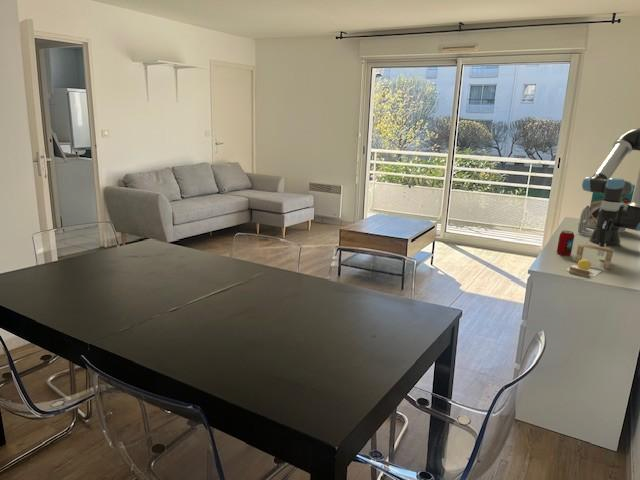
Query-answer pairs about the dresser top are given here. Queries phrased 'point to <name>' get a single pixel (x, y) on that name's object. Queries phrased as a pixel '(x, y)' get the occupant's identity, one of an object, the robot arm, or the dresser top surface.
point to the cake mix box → (596, 204)
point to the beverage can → (565, 243)
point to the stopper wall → (579, 271)
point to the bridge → (608, 250)
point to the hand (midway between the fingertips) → (600, 255)
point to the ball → (584, 264)
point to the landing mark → (592, 271)
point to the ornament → (584, 223)
